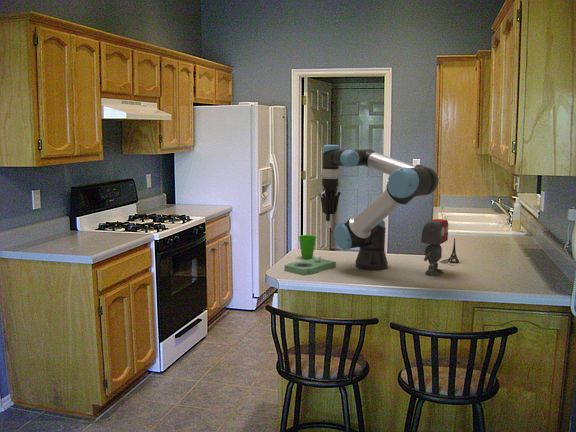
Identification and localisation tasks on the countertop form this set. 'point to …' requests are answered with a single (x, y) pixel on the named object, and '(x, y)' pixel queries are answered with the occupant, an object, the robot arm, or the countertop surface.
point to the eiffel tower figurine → (451, 257)
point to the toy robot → (434, 243)
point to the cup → (307, 245)
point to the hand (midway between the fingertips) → (329, 227)
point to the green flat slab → (309, 266)
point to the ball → (317, 258)
